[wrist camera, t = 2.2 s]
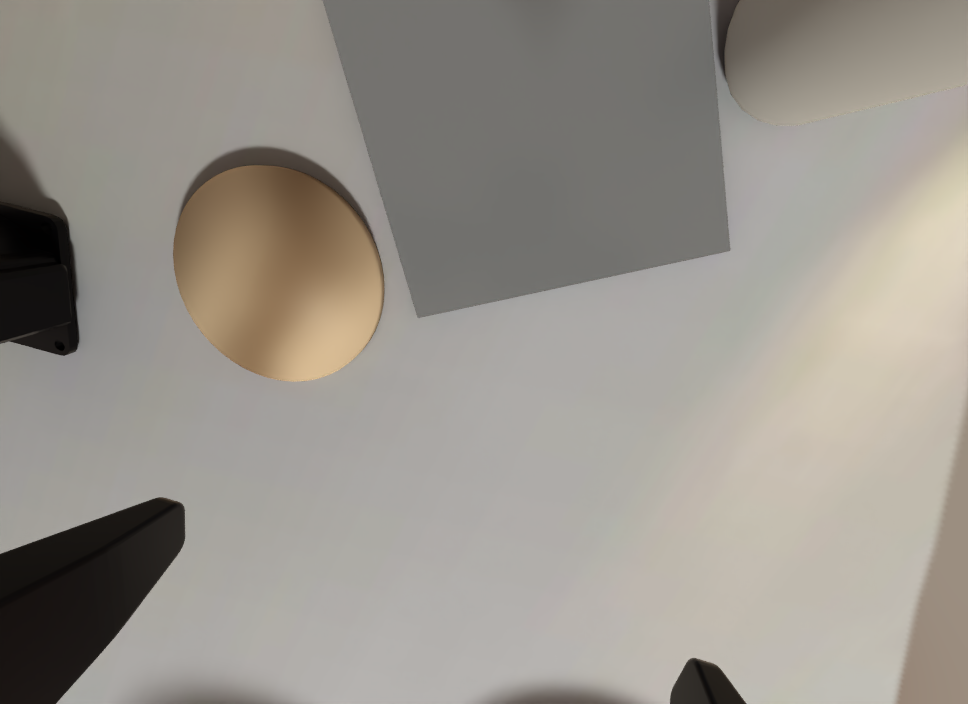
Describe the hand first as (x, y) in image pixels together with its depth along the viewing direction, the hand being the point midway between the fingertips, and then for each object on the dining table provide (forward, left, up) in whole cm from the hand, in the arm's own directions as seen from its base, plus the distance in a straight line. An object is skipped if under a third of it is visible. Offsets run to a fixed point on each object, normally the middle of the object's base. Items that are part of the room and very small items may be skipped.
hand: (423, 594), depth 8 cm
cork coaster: (-10, +1, -13) cm, 16 cm away
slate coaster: (-1, +9, -13) cm, 15 cm away
